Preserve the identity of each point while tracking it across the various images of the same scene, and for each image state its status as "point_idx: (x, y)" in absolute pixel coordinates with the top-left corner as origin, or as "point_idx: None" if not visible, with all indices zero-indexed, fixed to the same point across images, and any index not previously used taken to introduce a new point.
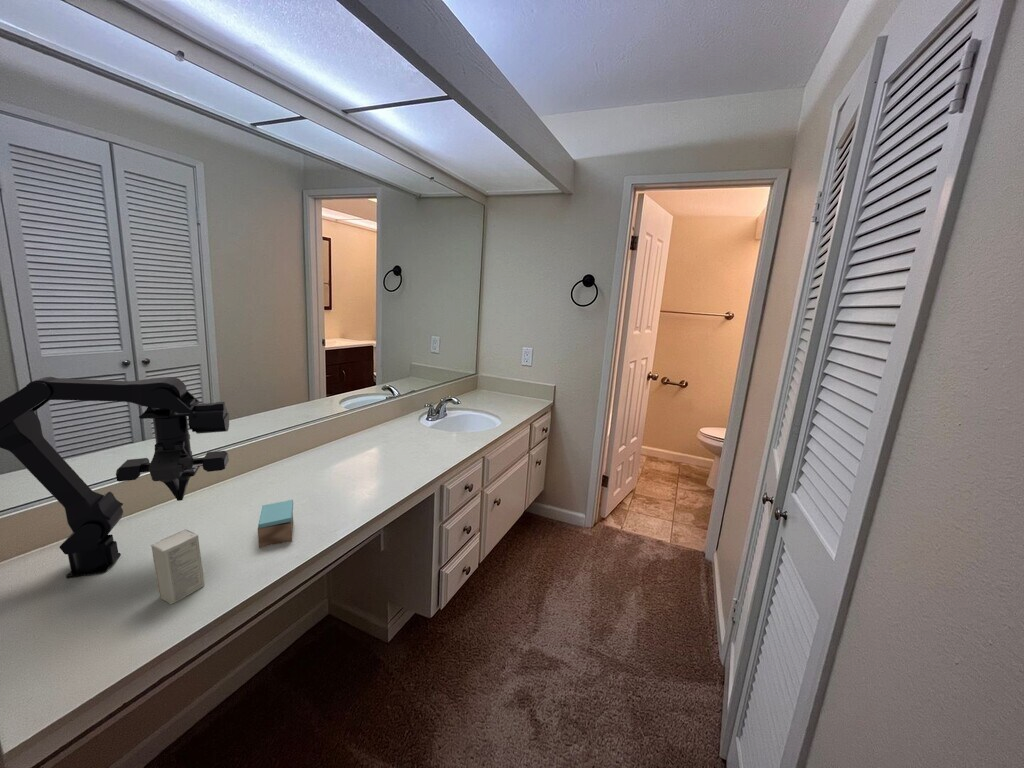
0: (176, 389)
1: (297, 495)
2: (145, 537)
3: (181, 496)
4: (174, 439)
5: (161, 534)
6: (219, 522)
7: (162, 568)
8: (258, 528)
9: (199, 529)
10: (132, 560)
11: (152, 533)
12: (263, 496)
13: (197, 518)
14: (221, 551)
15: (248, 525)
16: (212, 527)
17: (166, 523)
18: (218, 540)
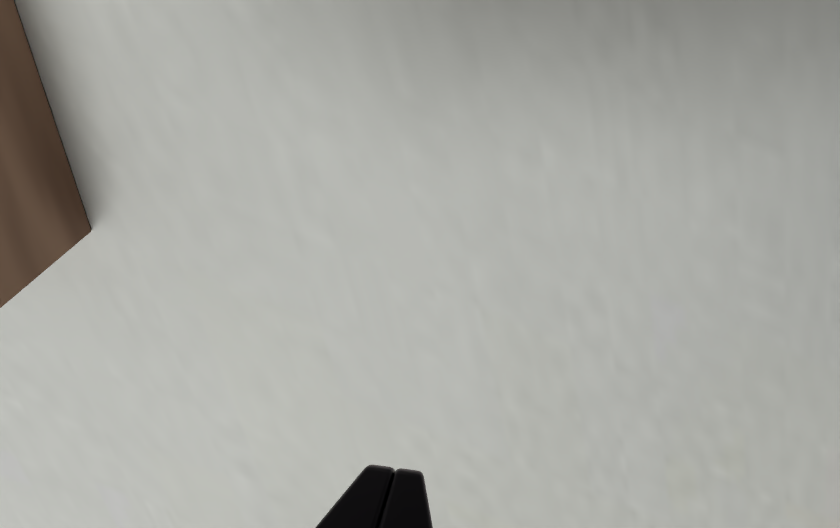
0: None
1: (49, 469)
2: (736, 393)
3: (345, 516)
4: None
5: (652, 388)
6: (361, 382)
7: None
8: None
9: (452, 356)
10: (809, 158)
11: (701, 417)
12: (214, 521)
13: (486, 463)
14: (248, 34)
15: (188, 290)
16: (385, 348)
17: (636, 480)
18: (310, 190)
